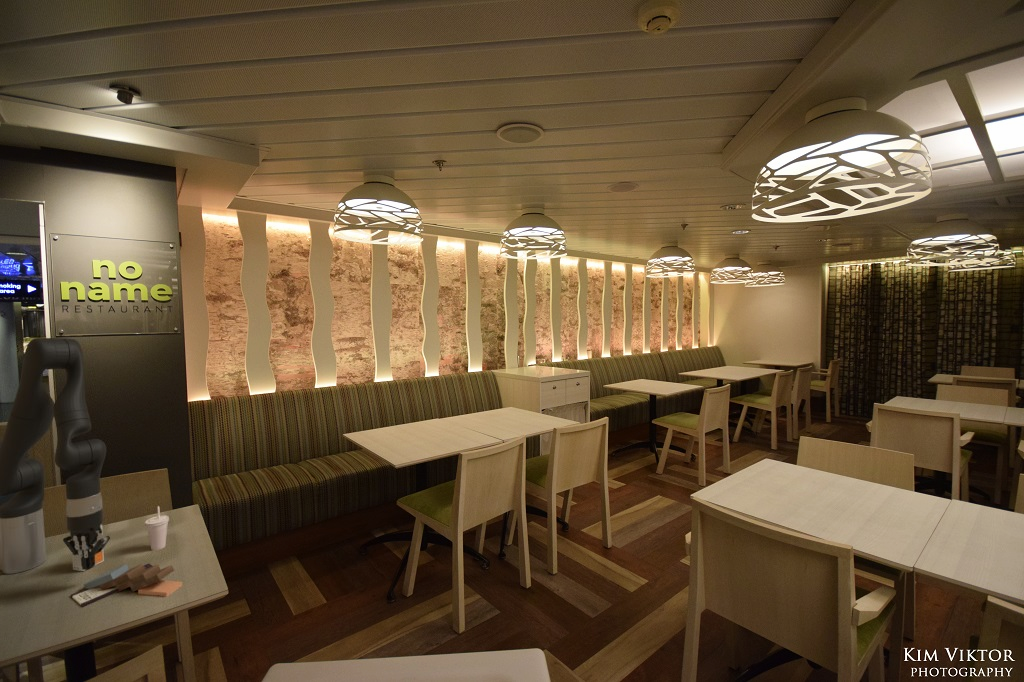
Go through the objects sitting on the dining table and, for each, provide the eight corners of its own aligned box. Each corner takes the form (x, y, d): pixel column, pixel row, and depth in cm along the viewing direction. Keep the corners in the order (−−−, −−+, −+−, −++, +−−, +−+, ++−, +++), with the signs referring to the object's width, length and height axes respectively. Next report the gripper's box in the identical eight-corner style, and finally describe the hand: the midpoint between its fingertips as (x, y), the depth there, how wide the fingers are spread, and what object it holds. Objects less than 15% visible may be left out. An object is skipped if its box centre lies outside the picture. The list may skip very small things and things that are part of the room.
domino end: (138, 590, 125) (166, 592, 124) (154, 579, 130) (182, 581, 129) (138, 596, 125) (166, 598, 124) (154, 585, 130) (182, 587, 129)
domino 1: (83, 584, 126) (110, 573, 126) (100, 574, 131) (126, 563, 131) (86, 590, 127) (113, 579, 126) (103, 579, 132) (129, 569, 131)
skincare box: (83, 571, 136) (81, 533, 135) (72, 570, 137) (70, 532, 136) (105, 561, 142) (103, 524, 141) (94, 559, 142) (92, 523, 142)
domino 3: (115, 585, 126) (142, 573, 125) (131, 575, 131) (157, 564, 130) (118, 591, 126) (145, 579, 125) (134, 581, 131) (160, 569, 130)
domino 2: (99, 584, 126) (127, 573, 126) (116, 574, 131) (142, 563, 131) (102, 590, 126) (129, 579, 126) (118, 580, 131) (145, 569, 131)
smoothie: (173, 545, 151) (171, 505, 150) (150, 554, 145) (148, 512, 145) (165, 540, 154) (163, 501, 153) (142, 548, 149) (140, 508, 148)
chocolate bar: (162, 571, 135) (82, 605, 119) (162, 574, 135) (83, 608, 119) (148, 563, 139) (70, 594, 124) (148, 566, 139) (70, 598, 124)
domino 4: (130, 586, 126) (157, 574, 125) (145, 576, 131) (171, 564, 130) (132, 592, 126) (159, 580, 125) (148, 581, 131) (174, 570, 130)
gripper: (118, 505, 131) (121, 562, 132) (78, 503, 132) (81, 560, 133) (92, 516, 123) (95, 577, 124) (49, 515, 125) (53, 574, 126)
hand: (88, 568), depth 129 cm, fingers closed
